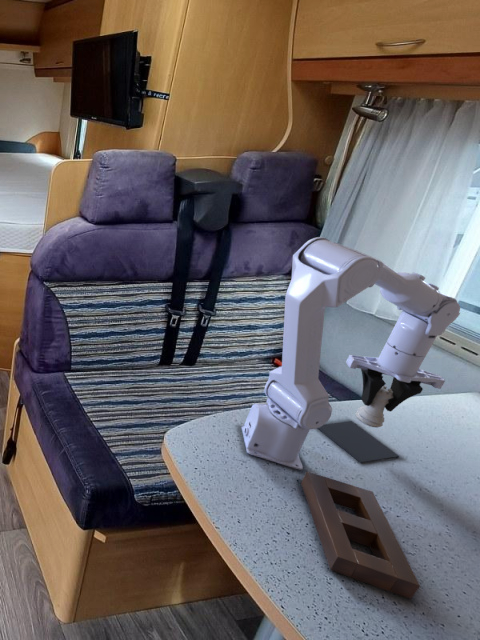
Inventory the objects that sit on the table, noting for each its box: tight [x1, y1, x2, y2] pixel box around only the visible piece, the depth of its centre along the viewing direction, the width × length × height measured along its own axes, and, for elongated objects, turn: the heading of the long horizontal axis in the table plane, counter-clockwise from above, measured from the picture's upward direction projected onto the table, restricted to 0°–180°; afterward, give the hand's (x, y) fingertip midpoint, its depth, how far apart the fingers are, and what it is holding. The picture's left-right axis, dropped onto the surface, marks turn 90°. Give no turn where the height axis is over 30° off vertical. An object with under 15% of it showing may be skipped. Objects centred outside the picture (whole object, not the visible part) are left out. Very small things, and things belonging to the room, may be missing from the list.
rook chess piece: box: [354, 385, 393, 429], centre depth 92 cm, size 4×4×8 cm
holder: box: [300, 471, 421, 600], centre depth 75 cm, size 10×17×3 cm, turn 158°
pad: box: [317, 420, 400, 464], centre depth 96 cm, size 10×10×1 cm
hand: (375, 405), depth 92 cm, fingers closed on rook chess piece, 3 cm apart
